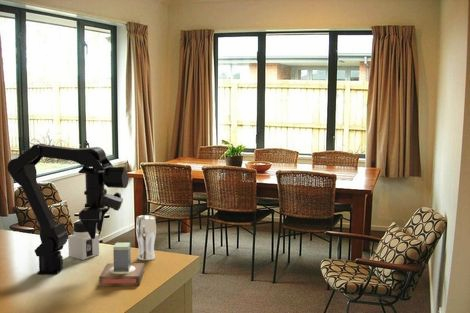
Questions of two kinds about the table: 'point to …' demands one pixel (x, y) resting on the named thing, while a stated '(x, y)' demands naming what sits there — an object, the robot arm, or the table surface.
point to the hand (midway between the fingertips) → (96, 234)
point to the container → (82, 242)
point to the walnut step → (122, 276)
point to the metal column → (122, 257)
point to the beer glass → (146, 236)
